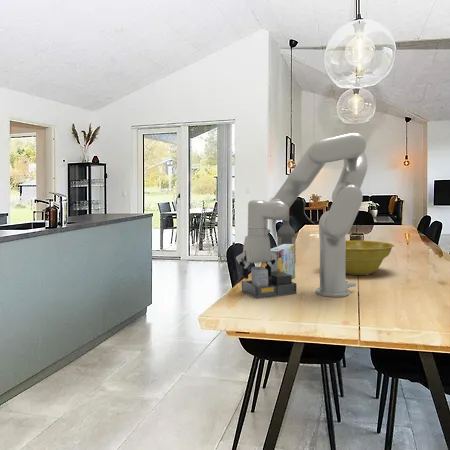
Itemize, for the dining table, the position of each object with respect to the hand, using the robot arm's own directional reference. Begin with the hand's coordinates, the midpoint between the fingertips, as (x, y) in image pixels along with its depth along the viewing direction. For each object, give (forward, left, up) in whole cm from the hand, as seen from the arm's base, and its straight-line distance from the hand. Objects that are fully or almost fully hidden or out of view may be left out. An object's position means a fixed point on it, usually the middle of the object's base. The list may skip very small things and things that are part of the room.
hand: (256, 277), depth 180 cm
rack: (-5, 0, -6) cm, 8 cm away
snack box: (-19, -15, -7) cm, 25 cm away
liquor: (-43, -53, -7) cm, 68 cm away
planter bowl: (-60, -17, -7) cm, 63 cm away
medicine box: (-1, 0, -5) cm, 5 cm away
